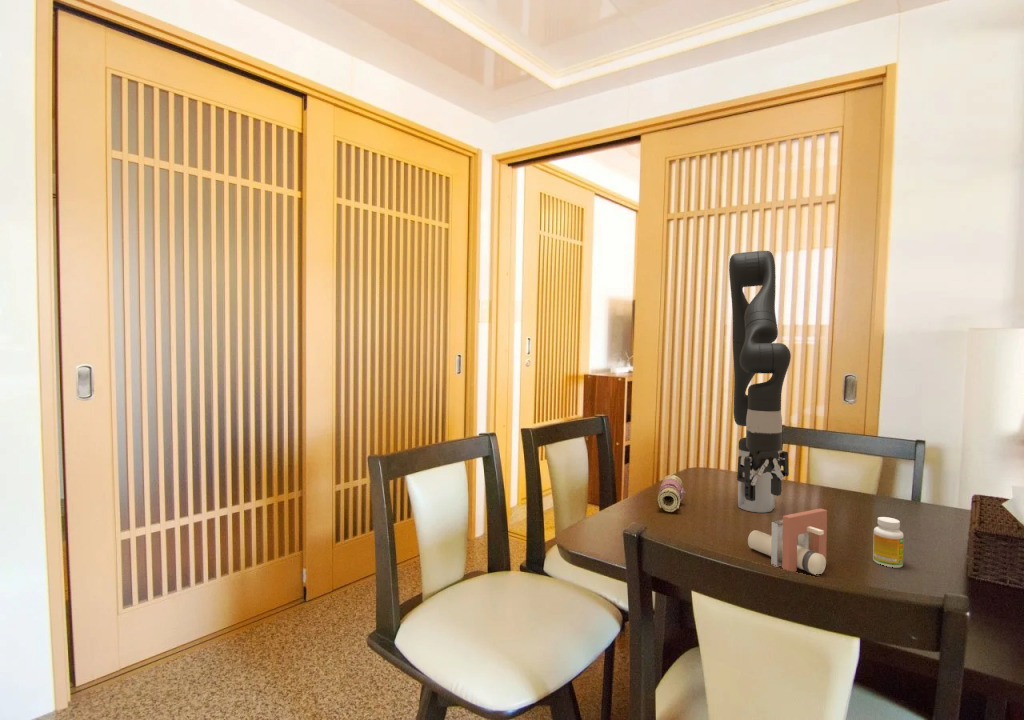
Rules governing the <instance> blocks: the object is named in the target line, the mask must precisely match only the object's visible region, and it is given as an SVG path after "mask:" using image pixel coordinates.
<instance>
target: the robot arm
mask: <svg viewBox="0 0 1024 720" xmlns="http://www.w3.org/2000/svg"><path fill="white" fill-rule="evenodd" d="M728 264H729V265H728V272H729V273H728V274H729V275H728V276H729V283H730V284H729V286H730V287H729V288H730V297H731V309H732V310H731V311H732V357H733V358H732V359H733V372H734V373H733V374H734V375H733V377H734V379H733V380H734V382H733V383H734V384H733V420H734V422H735V424H736V425H738V426H740V427H746V428H745V430H746V431H745V433H746V434H745V435H746V436H745V437H742V438H740V439H739V440H738V458H737V474H736V475H737V477H736V478H737V479H736V480H737V507H738V508H739V509H741V510H744V511H748V512H752V513H770V512H772V511H773V509H775V502H776V500H775V499H776V497H775V496H777V497H780V496H781V495H782V491H783V489H782V485H783V484H782V482H783V480H784V478H785V477H788V476H790V475H789V474H790V472H789V471H790V469H789V452H788V451H784V450H782V449H783V446H782V445H783V444H782V443H783V416H782V392H783V391H782V390H783V385H784V381H785V377H786V375H787V371H788V369H789V367H790V363H791V357H792V355H791V351H790V349H789V347H788V346H787V345H786V344H784V343H782V342H775V341H776V340H777V339H778V334H779V331H778V324H777V323H778V322H777V317H776V306H775V304H776V289H777V288H776V287H777V286H776V277H777V276H776V263H775V258H774V254H773V253H772V252H771V251H770V250H757V251H748V252H747V251H746V252H745V251H744V252H737V253H734V254H732V255H731V256H730V258H729V263H728ZM750 287H760V289H759V291H758V292H757V293H756V295H755V296H754V297H753V298H752V300H751V301H750V302H748V300H747V298H746V295H745V293H744V291H743V288H750ZM756 374H771V376H770V378H769V379H768V380H767V381H764V382H759V383H753V384H750V383H751V381H752V379H753V377H754V376H755V375H756ZM749 384H750V385H749ZM746 392H747V393H746ZM782 467H783V470H782Z"/></svg>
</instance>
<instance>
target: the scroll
mask: <svg viewBox="0 0 1024 720" xmlns="http://www.w3.org/2000/svg"><path fill="white" fill-rule="evenodd" d="M683 486H684V484H683V481H682V479H681V478H680V477H678V476H677V475H674V474H672V475H666V476H665V477H664V478H663V480H662V482H661V484H660V487H659V490H658V494H657V495H658V496H657V502H658V506H659V508H660V509H661V508H662V509H663V510H664V511H665V512H669V513H670V512H671V513H672V512H675V511H676V510H677V509H679V507H680V503H681V502H682V500H683V499H684V497H685V494H687V493H686V491H685V489H684V487H683Z"/></svg>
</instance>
